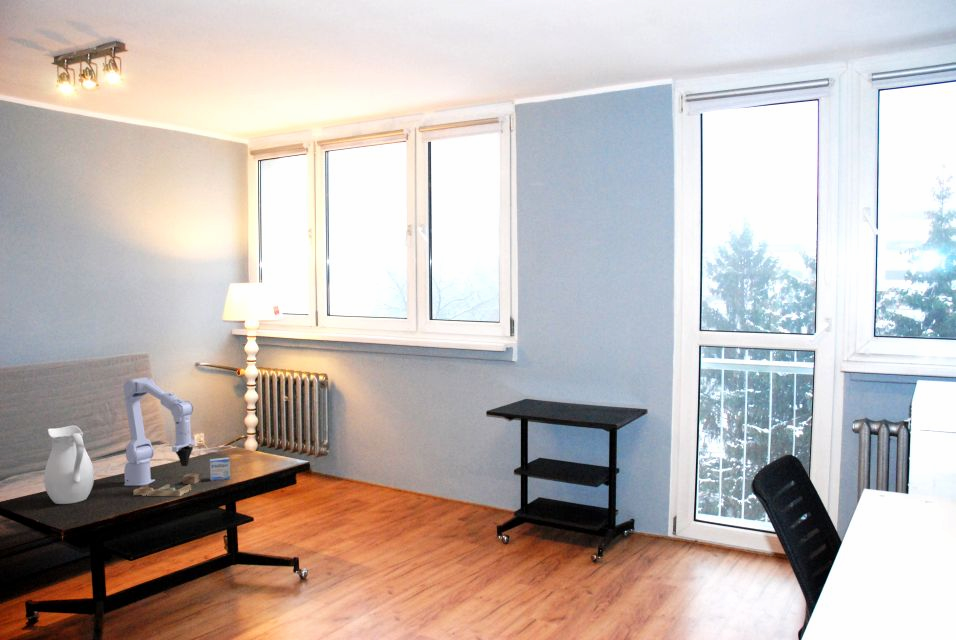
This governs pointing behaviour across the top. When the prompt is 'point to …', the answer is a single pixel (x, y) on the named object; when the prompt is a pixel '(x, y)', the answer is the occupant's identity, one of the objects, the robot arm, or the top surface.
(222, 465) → the medicine box
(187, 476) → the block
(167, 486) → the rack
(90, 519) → the top surface
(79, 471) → the pitcher
